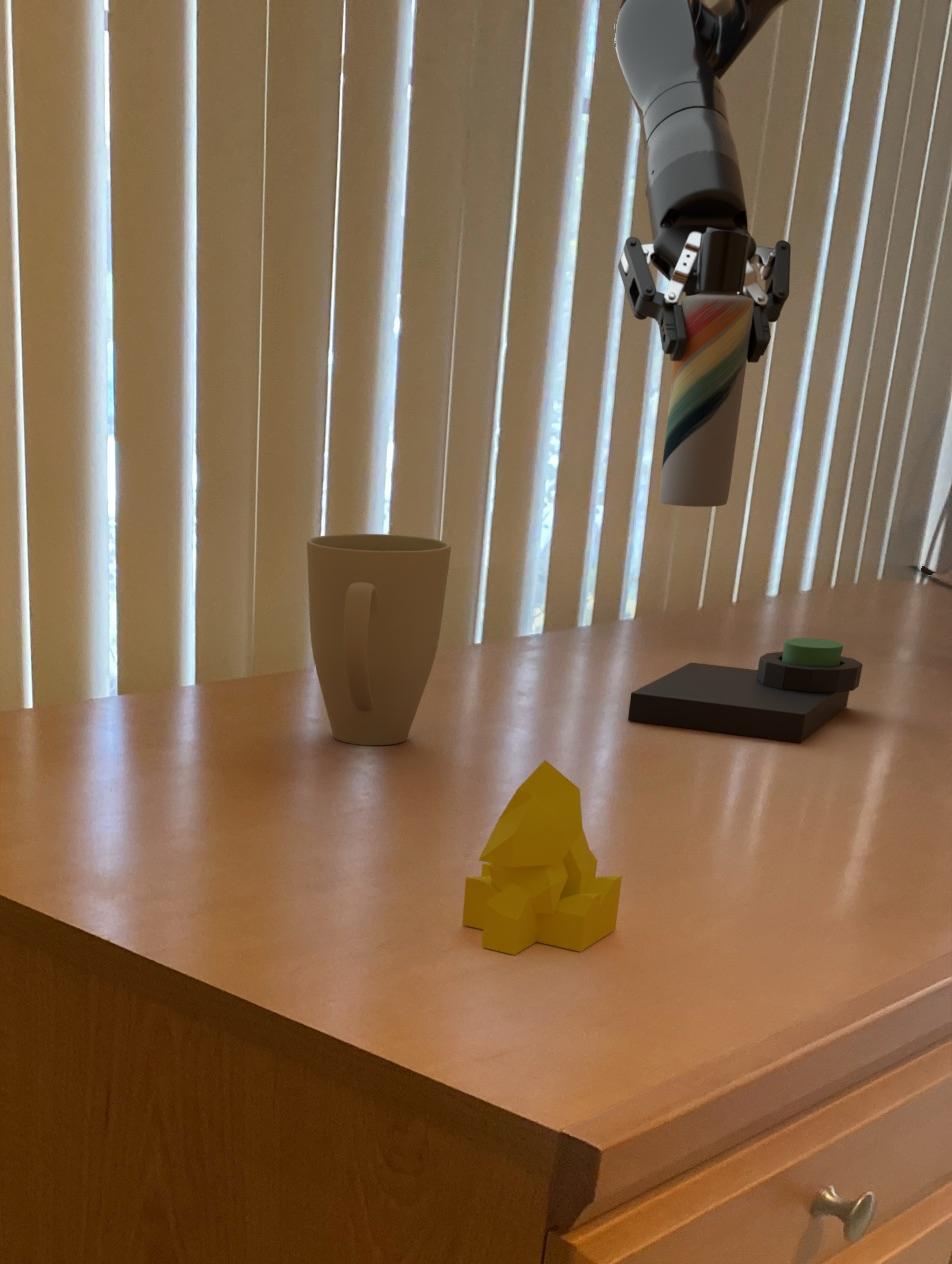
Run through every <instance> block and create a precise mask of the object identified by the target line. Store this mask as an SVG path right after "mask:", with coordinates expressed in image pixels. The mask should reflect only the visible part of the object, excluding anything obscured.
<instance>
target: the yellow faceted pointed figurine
mask: <svg viewBox="0 0 952 1264" xmlns="http://www.w3.org/2000/svg"><path fill="white" fill-rule="evenodd" d="M582 814H583V813H582V803H581V788H579V787H578V786H577V785H575V784H574V782H572V780H570V779H569V778H568V777H566V776H565V774H562V773H561V771H559V770H558V769H557V768H556V767H555V766H553V765H552V764H551V763H550V762H549V761H547V760H546V759H544V760H543V761H542V762H541V763H540V765H539V766H537V768H536V769H535V770H534V771H533V772H532V773H531V774H530V775H529V776H528V777H527V778H526V779H525V780H524V781H523V783H521V784H520V785H519V786H518V787H517V789H516V790H515V793H514V794H513V795H512V797H511V799H510V800H509V802H508V803H507V805H506V807H505V809H504V810H503V812H502V813H501V815H500V816H499V817H498V820H497V822H496V824H495V826H494V827H493V829H492V832H491V833H490V836H489V838H488V839H487V842H486V843H485V845H484V847H483V849H482V851H481V853H480V856H479V858H478V861H480V862H484V863H482V864H481V874H480V876H466V877H465V886H464V895H463V897H464V898H463V908H462V909H463V910H462V920H461V921H462V923H461V925H462V926H465V927H471V928H475V929H479V930H482V940H481V941H482V942H481V948H483V949H488V950H492V951H496V952H501V953H504V954H508V955H513V956H515V955H517V954H518V953H520V952H522V951H524V950H525V949H527V948H529V947H531V946H533V944H535V943H540V944H544V945H548V946H553V947H557V948H562V949H567V950H571V951H576V952H578V953H579V952H580V953H581V952H583V951H584V950H586V949H587V948H588V947H591V946H592V945H594V944H595V943H597V942H598V941H600V940H601V939H603V938H605V937H606V936H607V935H609V934H611V933H612V932H614V931H615V930H616V928H617V919H618V911H619V902H620V894H621V888H622V887H621V886H622V880H623V876H622V875H606V876H605V875H604V876H603V875H602V876H597V877H596V875H597V866H598V859H597V857H596V856H595V855H594V853H593V852H592V851H591V848H590V845H589V843H588V840H587V837H586V833H585V831H584V829H583V816H582Z"/></svg>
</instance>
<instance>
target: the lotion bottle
mask: <svg viewBox="0 0 952 1264" xmlns="http://www.w3.org/2000/svg"><path fill="white" fill-rule="evenodd" d="M749 244H750V236H749V235H747V234H744V233H736V232H731V231H726V230H722V229H717V228H713V227H707V228H706V231H705V233H704V234H702V235H701V239H700V247H699V256H698V265H697V274H696V283H695V291H697V292H700V293H699V294H696V295H692V296H685V297H683V298H681V302H680V305H682V308H683V315H684V322H685V329H686V336H687V344H686V348H685V350H684V353H683V355H682V358H681V360H680V361H673V368H672V376H671V377H672V378H671V384H670V385H671V386H670V394H669V395H670V396H669V404H668V410H667V411H668V412H667V422H666V430H665V431H666V432H665V439H664V448H663V449H664V450H663V457H662V465H661V474H660V483H659V496H658V497H659V499H658V500H659V503H661V504H664V505H670V506H676V507H677V506H678V507H691V508H693V507H695V508H697V507H698V508H709V507H710V508H712V507H722V506H726V505H727V503H728V500H729V495H730V488H731V483H732V482H731V481H732V474H733V467H734V462H735V461H734V459H735V452H736V445H737V437H738V431H739V423H740V416H741V415H740V413H741V407H742V399H743V393H744V392H743V391H744V384H745V377H746V369H747V363H748V361H747V355H748V347H749V339H750V332H751V324H752V316H753V307H754V300H753V299H752V298H749V297H746V296H742V295H739V294H737V292H743V289H744V282H745V274H746V267H747V259H748V252H749Z"/></svg>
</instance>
